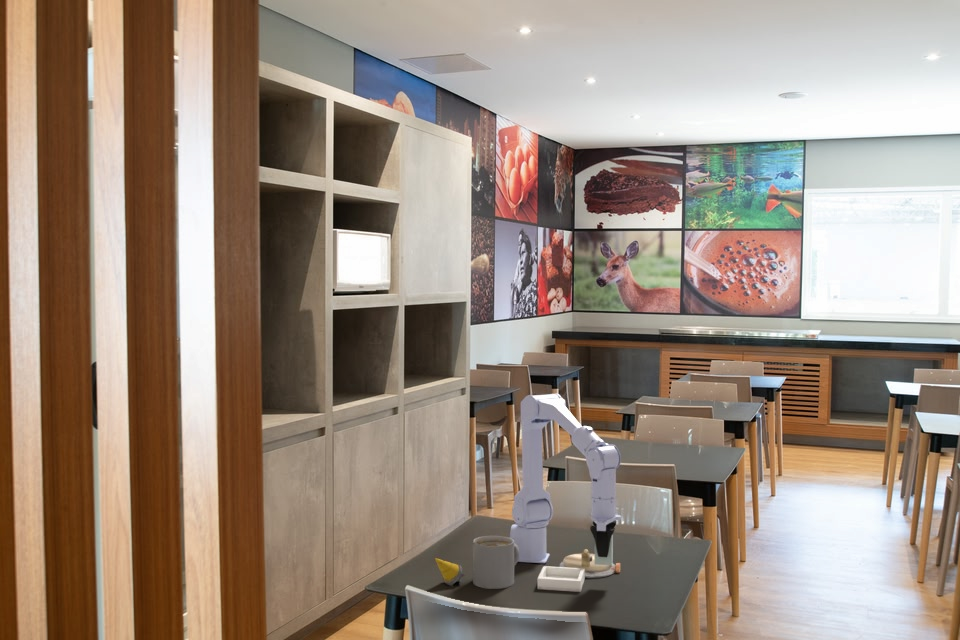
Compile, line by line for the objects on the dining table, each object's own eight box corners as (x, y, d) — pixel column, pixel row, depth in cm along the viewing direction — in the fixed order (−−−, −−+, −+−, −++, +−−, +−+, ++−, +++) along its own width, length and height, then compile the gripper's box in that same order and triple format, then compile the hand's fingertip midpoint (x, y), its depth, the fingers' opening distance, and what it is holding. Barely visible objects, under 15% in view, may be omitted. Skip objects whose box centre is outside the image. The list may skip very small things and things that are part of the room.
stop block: (594, 564, 206) (594, 534, 206) (595, 559, 210) (595, 530, 209) (611, 565, 205) (611, 535, 205) (612, 560, 209) (612, 531, 209)
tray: (537, 589, 205) (537, 578, 205) (543, 576, 215) (543, 566, 215) (580, 591, 203) (580, 581, 203) (584, 578, 213) (584, 568, 213)
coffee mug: (488, 591, 204) (488, 548, 204) (465, 580, 212) (464, 539, 212) (533, 581, 211) (533, 540, 211) (509, 571, 219) (509, 531, 219)
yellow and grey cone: (467, 588, 208) (441, 564, 204) (450, 594, 210) (424, 570, 206) (471, 569, 212) (445, 545, 208) (454, 575, 215) (428, 552, 211)
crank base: (556, 576, 215) (556, 568, 215) (563, 560, 229) (563, 553, 229) (618, 579, 212) (618, 572, 212) (621, 563, 226) (621, 556, 226)
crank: (566, 556, 228) (566, 537, 228) (613, 559, 225) (613, 540, 225) (560, 571, 215) (560, 551, 215) (609, 574, 213) (609, 553, 212)
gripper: (618, 504, 199) (618, 563, 199) (622, 491, 213) (622, 546, 213) (587, 502, 201) (587, 561, 201) (593, 489, 215) (593, 545, 215)
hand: (603, 554), depth 207 cm, fingers closed on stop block, 4 cm apart
